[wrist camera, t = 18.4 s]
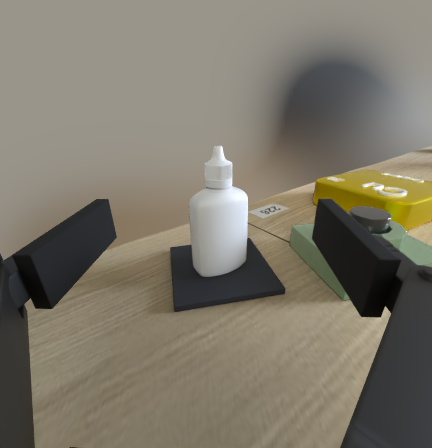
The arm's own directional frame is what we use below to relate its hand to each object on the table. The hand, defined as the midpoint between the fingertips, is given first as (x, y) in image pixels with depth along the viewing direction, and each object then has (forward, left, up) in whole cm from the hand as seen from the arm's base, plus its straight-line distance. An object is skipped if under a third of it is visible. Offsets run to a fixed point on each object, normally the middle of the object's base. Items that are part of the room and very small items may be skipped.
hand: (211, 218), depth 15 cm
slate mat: (+2, +7, -9) cm, 12 cm away
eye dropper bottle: (+2, +7, -9) cm, 11 cm away
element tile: (+31, +18, -9) cm, 37 cm away
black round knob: (+17, +5, -5) cm, 18 cm away
